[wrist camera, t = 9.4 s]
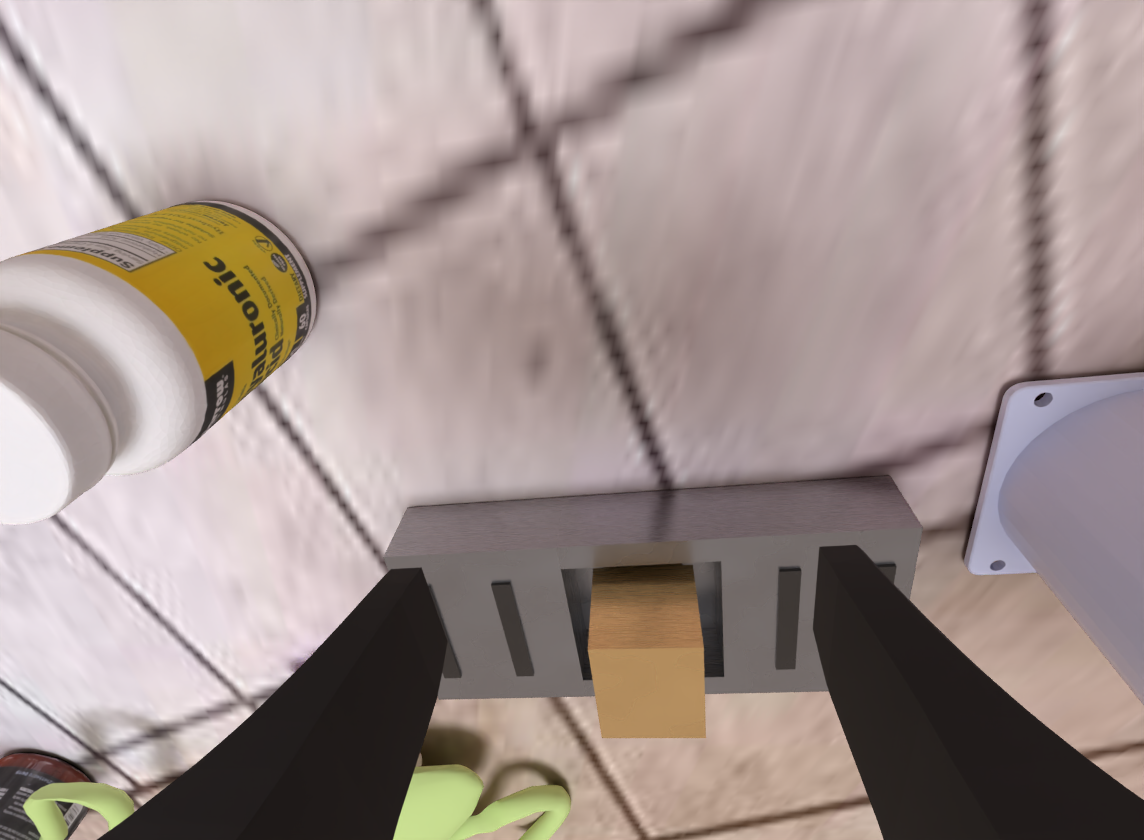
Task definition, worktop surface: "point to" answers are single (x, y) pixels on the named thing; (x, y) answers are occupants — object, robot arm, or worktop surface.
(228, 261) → the supplement bottle
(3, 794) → the supplement bottle
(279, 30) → the worktop surface
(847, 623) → the robot arm
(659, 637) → the wooden stepped block
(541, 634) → the grey slotted block
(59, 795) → the figurine
